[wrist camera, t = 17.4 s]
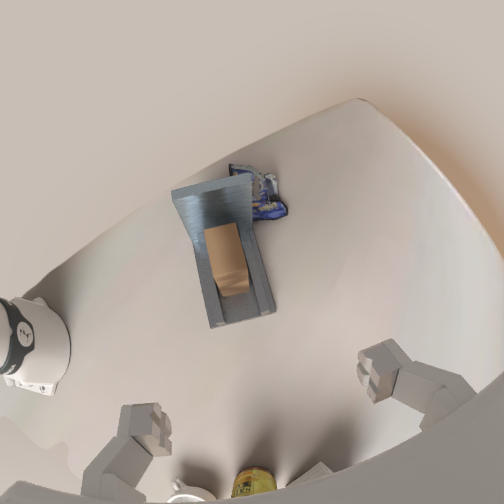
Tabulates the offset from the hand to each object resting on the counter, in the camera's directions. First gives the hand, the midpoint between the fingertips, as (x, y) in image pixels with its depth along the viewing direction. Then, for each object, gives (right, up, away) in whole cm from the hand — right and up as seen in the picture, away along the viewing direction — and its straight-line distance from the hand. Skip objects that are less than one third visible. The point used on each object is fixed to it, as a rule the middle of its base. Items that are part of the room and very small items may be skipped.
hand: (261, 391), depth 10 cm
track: (-3, +1, +34) cm, 34 cm away
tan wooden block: (-3, +2, +33) cm, 34 cm away
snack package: (+1, +15, +40) cm, 43 cm away
